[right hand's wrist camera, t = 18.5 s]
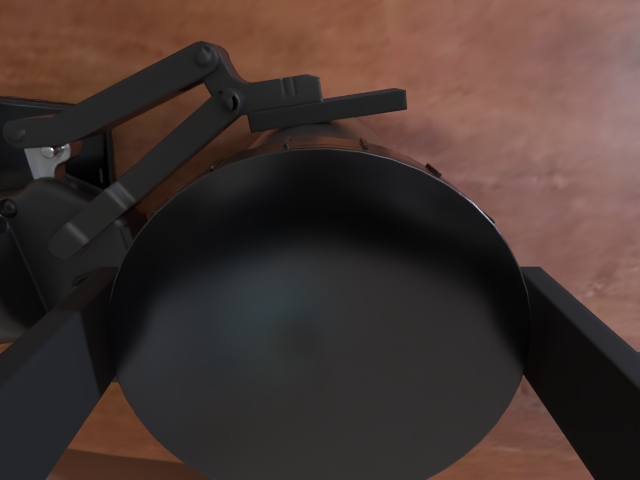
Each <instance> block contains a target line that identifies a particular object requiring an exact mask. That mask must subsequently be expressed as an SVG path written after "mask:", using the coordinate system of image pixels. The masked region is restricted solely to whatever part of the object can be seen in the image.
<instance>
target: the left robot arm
mask: <svg viewBox="0 0 640 480" xmlns="http://www.w3.org/2000/svg"><path fill="white" fill-rule="evenodd" d="M202 83H204V84H205V86H206V87H207V89H208V91H209V92H210V94H211V96H212V97H211V98H210V99H208V100H207V101H206V102H205V103H204V104H203V105H202V106H201V107H199V108H198V109H197V110H196V111H195V112H194V113H193V114H192V115H190V116H189V117H188V118H187V119H186V120H185V121H184V122H183V123H181V124H180V125H179V126H178V127H177V128H176V129H175V130H173V131H172V132H171V133H170V134H169V135H168V136H167V137H166V138H164V139H163V140H162V141H161V142H160V143H159V144H158V145H157V146H155V147H154V148H153V149H152V150H151V151H150V152H149V153H148V154H146V155H145V156H144V157H143V158H142V159H141V160H140V161H139V162H137V163H136V164H135V165H134V166H133V167H132V168H131V169H129V170H128V171H127V172H126V173H125V174H124V175H123V176H122V177H120V178H119V179H118V180H117V181H116V182H114V183H113V184H112V185H110V186H109V187H108V188H106V189H105V190H103V189H100V188H98V187H96V186H94V185H92V184H90V183H87V182H85V181H83V180H81V179H79V178H77V177H74V176H72V175H70V174H67V173H66V171H65V167H66V164H67V162H68V161H69V160H71V159H74V158H76V157H78V156H79V154H80V153H81V148H82V142H81V140H82V139H86V138H90V137H93V136H97V135H99V134H102V133H104V132H106V131H108V130H110V129H112V128H114V127H116V126H118V125H120V124H122V123H124V122H126V121H128V120H130V119H132V118H134V117H136V116H138V115H140V114H142V113H144V112H146V111H148V110H150V109H152V108H154V107H156V106H158V105H160V104H162V103H164V102H166V101H168V100H170V99H172V98H174V97H176V96H178V95H180V94H182V93H184V92H186V91H188V90H190V89H192V88H194V87H196V86H198V85H200V84H202ZM406 109H407V102H406V90H402V89H397V88H392V89H385V90H379V91H372V92H366V93H359V94H353V95H346V96H340V97H333V98H327V99H322V93H321V86H320V79H319V77H315V76H312V75H308V74H306V75H300V76H294V77H287V78H281V79H274V80H268V81H262V82H255V83H251V82H247V81H245V80H243V79H242V78H241V77H240V76H239V75H238V73H237V72H236V70H235V68H234V66H233V65H232V63H231V61H230V58H229V54H228V53H227V51H226V50H225V49H224V48H222V47H221V46H218V45H215V44H211V43H208V42H202V41H200V42H196V43H193V44H192V45H190V46H188V47H186V48H184V49H182V50H180V51H178V52H176V53H174V54H172V55H170V56H168V57H167V58H165V59H163V60H161V61H159V62H157V63H155V64H153V65H151V66H149V67H147V68H145V69H143V70H141V71H140V72H138V73H136V74H134V75H132V76H130V77H128V78H126V79H124V80H122V81H120V82H118V83H116V84H114V85H113V86H111V87H109V88H107V89H105V90H103V91H101V92H99V93H97V94H95V95H93V96H91V97H89V98H88V99H86V100H84V101H82V102H80V103H78V104H76V105H74V106H72V107H70V108H68V109H66V110H64V111H62V112H61V113H59V114H52V115H43V116H36V117H29V118H23V119H16V120H11V121H8V122H7V123H6V124H5V125H4V127H3V136H4V138H5V140H6V141H7V142H8V143H9V144H10V145H11V146H13V147H15V148H18V149H24V151H25V154H26V157H27V160H28V163H29V166H30V169H31V172H32V175H33V178H34V180H33V181H31V182H30V183H29V184H28V185H27V186H26V187H25V188H23V189H17V190H10V191H4V192H0V344H3V343H11V342H15V341H16V340H17V339H18V338H20V337H21V336H22V335H23V334H24V333H25V332H26V331H28V330H29V329H30V328H31V327H32V326H33V325H34V324H36V323H37V322H38V321H39V320H40V319H41V318H42V317H44V316H45V315H46V314H47V313H48V312H49V311H50V310H51V309H53V308H54V307H55V306H56V305H57V304H58V303H59V302H61V301H62V300H63V299H64V298H65V297H66V296H67V295H69V294H70V293H71V292H72V291H73V290H74V289H75V288H77V287H78V286H79V285H80V284H81V283H82V282H83V281H85V280H86V279H87V278H88V277H89V276H90V275H91V274H93V273H94V272H95V271H96V270H97V269H98V268H99V267H120V264H121V262H122V259H123V257H124V255H125V254H126V252H127V250H128V248H129V247H130V245H131V243H132V242H133V240H134V238H135V237H136V235H137V234H138V232H139V231H140V230H141V229H142V227H143V226H144V225H145V224H146V223H147V221H148V220H147V216H146V213H142V214H141V213H140V212H139V210H138V209H137V208H136V206H137V205H138V204H139V203H140V202H141V201H143V200H144V199H145V198H146V197H147V196H148V195H150V194H151V193H152V192H153V191H154V190H155V189H156V188H157V187H158V186H159V185H161V184H162V183H163V182H164V181H165V180H166V179H168V178H169V177H170V176H171V175H172V174H174V173H175V172H176V171H177V170H178V169H179V168H181V167H182V166H183V165H184V164H185V163H186V162H188V161H189V160H190V159H191V158H192V157H193V156H195V155H196V154H197V153H198V152H199V151H200V150H202V149H203V148H204V147H205V146H206V145H208V144H209V143H210V142H211V141H212V140H213V139H215V138H216V137H217V136H218V135H219V134H220V133H222V132H223V131H224V130H225V129H226V128H227V127H229V126H230V125H231V124H232V123H233V122H234V121H236V120H237V119H238V118H239V117H240V116H241V115H247V116H248V121H249V126H250V130H251V133H254V132H260V131H267V130H274V129H280V128H287V127H293V126H300V125H307V124H313V123H320V122H327V121H333V120H340V119H347V118H353V117H360V116H367V115H373V114H380V113H387V112H393V111H400V110H406ZM112 382H118V379H117V377H116V376H115V377H114V379H113V380H112Z"/></svg>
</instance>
